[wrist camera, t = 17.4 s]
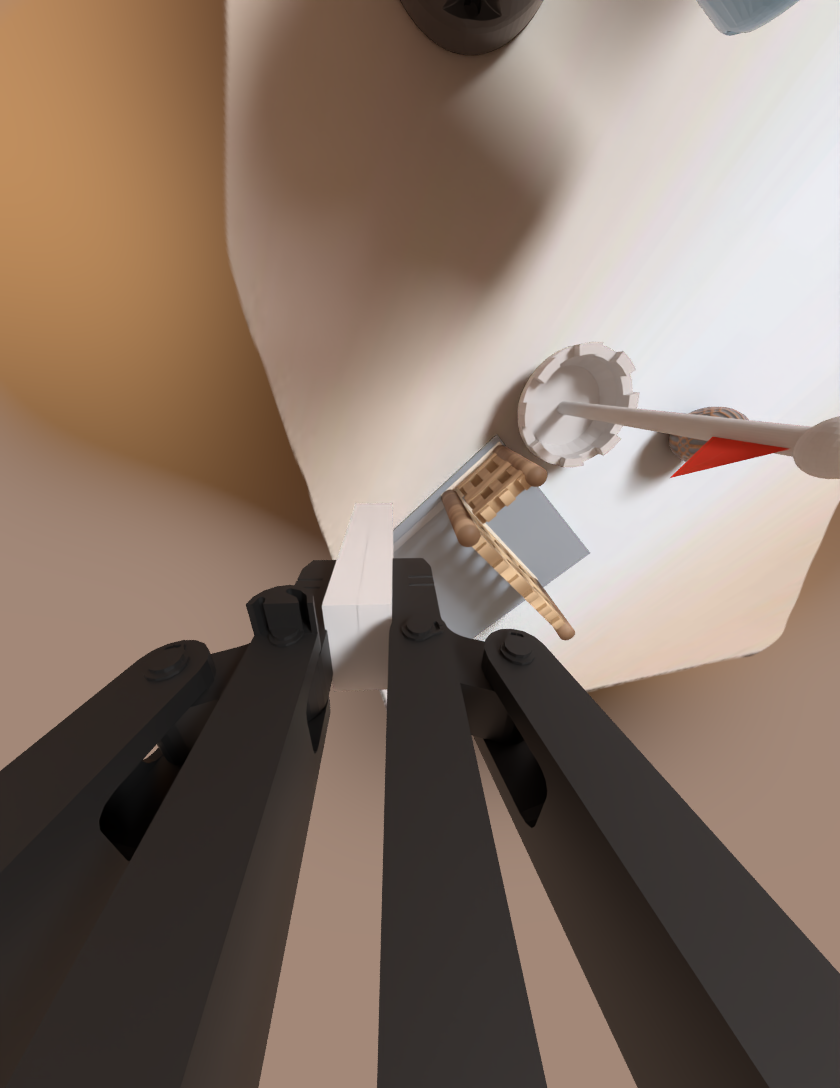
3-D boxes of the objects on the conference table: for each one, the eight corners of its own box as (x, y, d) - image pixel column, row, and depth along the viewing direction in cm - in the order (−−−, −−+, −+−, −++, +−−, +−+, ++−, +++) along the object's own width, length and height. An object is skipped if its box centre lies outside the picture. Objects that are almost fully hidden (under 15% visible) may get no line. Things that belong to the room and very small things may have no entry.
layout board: (345, 574, 49) (344, 576, 49) (496, 434, 41) (497, 435, 41) (449, 653, 59) (449, 655, 58) (588, 551, 51) (590, 553, 50)
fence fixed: (437, 496, 44) (452, 537, 33) (499, 439, 42) (540, 461, 30) (448, 507, 45) (467, 551, 34) (510, 453, 42) (554, 479, 31)
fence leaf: (453, 512, 45) (471, 551, 34) (464, 502, 44) (485, 539, 34) (530, 590, 52) (564, 642, 42) (540, 582, 51) (577, 633, 41)
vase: (708, 448, 44) (775, 462, 36) (658, 465, 45) (714, 482, 37) (712, 397, 41) (786, 400, 33) (659, 416, 42) (720, 423, 34)
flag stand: (598, 324, 36) (1154, 165, 10) (618, 429, 42) (1004, 509, 16) (494, 381, 38) (723, 377, 12) (527, 475, 44) (731, 615, 17)
